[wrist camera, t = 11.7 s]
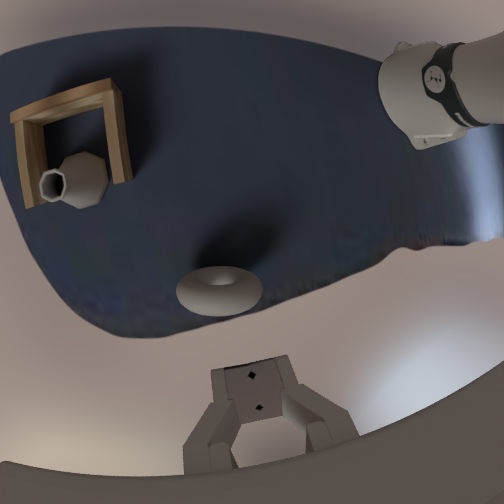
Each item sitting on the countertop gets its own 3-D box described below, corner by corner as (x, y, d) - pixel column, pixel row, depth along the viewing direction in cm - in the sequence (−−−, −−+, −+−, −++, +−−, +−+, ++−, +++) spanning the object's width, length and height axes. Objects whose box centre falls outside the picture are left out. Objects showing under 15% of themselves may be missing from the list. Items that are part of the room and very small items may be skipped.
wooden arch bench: (121, 92, 31) (110, 77, 24) (133, 179, 34) (123, 182, 28) (35, 119, 29) (10, 112, 22) (45, 202, 32) (22, 210, 25)
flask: (61, 149, 31) (26, 146, 22) (113, 152, 33) (90, 148, 23) (55, 206, 33) (20, 220, 23) (106, 211, 35) (83, 226, 25)
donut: (251, 259, 41) (273, 287, 31) (251, 283, 42) (272, 317, 32) (175, 264, 38) (174, 295, 29) (177, 289, 39) (178, 326, 30)
